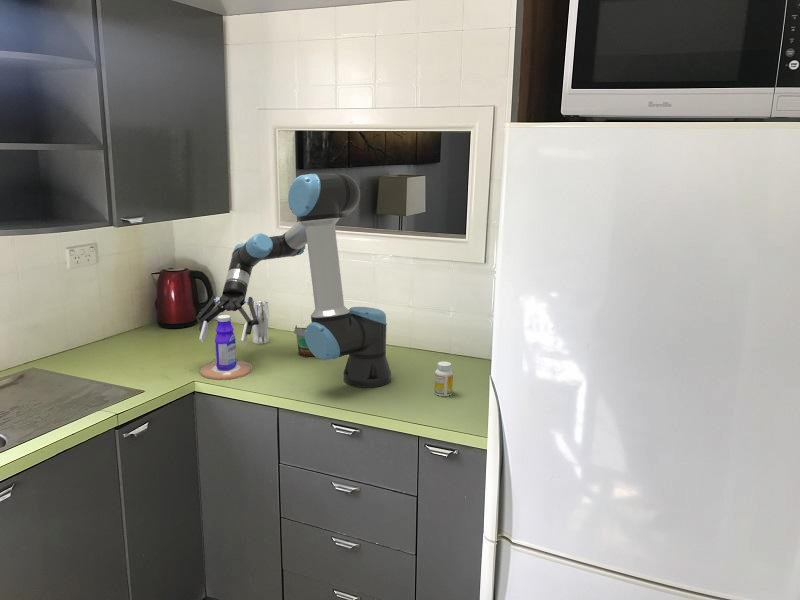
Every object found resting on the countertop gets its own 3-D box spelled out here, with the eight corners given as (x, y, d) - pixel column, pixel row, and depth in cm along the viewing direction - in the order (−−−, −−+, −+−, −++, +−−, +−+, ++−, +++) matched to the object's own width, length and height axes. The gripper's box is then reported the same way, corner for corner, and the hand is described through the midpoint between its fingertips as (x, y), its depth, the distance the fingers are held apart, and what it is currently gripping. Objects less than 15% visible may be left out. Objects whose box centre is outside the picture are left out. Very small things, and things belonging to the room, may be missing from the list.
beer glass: (257, 345, 240) (255, 306, 236) (247, 341, 245) (245, 302, 241) (273, 342, 244) (272, 303, 241) (263, 337, 249) (262, 299, 246)
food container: (289, 357, 228) (289, 329, 225) (295, 351, 234) (294, 324, 231) (323, 359, 226) (323, 332, 223) (328, 354, 231) (328, 327, 229)
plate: (261, 367, 217) (261, 364, 216) (229, 383, 203) (229, 379, 202) (223, 360, 223) (223, 357, 223) (189, 374, 209) (189, 371, 209)
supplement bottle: (436, 397, 194) (437, 366, 192) (432, 390, 199) (433, 361, 197) (454, 396, 195) (455, 366, 193) (449, 390, 200) (450, 360, 198)
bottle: (229, 372, 209) (227, 319, 205) (213, 370, 210) (210, 318, 206) (239, 364, 216) (237, 313, 212) (223, 363, 217) (221, 312, 213)
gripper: (275, 293, 221) (263, 348, 210) (203, 290, 224) (188, 345, 213) (270, 280, 215) (257, 337, 204) (196, 278, 217) (180, 334, 206)
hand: (222, 341), depth 208 cm, fingers open, 13 cm apart
